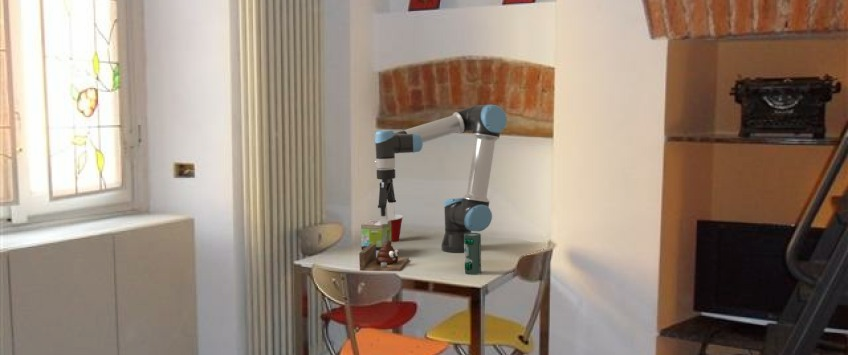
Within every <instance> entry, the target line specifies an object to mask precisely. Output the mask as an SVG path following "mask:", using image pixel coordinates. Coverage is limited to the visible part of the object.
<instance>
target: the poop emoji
mask: <svg viewBox="0 0 848 355" xmlns="http://www.w3.org/2000/svg"><path fill="white" fill-rule="evenodd" d="M391 245H392V242H391V243H390V241H389V240H387V241H386V242H385V243H384V244H383V246H382V247H381V249H380V250H379V253H378V254H377V258H376V262H377V263H378V264H380V265H381V263H382V262H386V263H387V265H389V264H392V263H394V262H397V261H398V258H399V257H398V256H399V254H400V252H399V250H398V249H395V248H394V246H393V245H392V246H391Z"/></svg>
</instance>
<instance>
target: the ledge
mask: <svg viewBox="0 0 848 355" xmlns="http://www.w3.org/2000/svg"><path fill="white" fill-rule="evenodd" d="M358 255H359V271H362V272H364V271H365V272H366V271H370V272H371V271H375V272H376V271H377V272H378V271H379V272H380V271H381V272H382V271H383V272H394V271H395V272H400V271H401V270H402V268H404V266H405V265H406V264H407V263H408V262H409V261H410V258H409V257H398V261H397V262H394V263H392V264H389V265H387V263H386V262H382V263H381V265H380V264H378V263H377V262H376V244H374V243H371V244H370V245H369V246H367V247H366V248H365V249H364V250H362V251H361V250H360V252H359V254H358Z"/></svg>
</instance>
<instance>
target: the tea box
mask: <svg viewBox="0 0 848 355" xmlns="http://www.w3.org/2000/svg"><path fill="white" fill-rule="evenodd" d="M360 227H361V229H360V231H361V232H360V233H361V234H360V235H361V236H360V238H361V240H360V241H361V242H360V243H361V245H360V246H361V247H360V248H361V250H360V252H361V251H362V250H364V249H365V248H366V247H367V246H369V245H370V244H371V243H374V244H376V258H377V254H378V253H379V250H380V249H381V247H382V246H383V244H384V243H385V242H386V241H387V240H389V241H390V243H391V246H392V247H393V245H392V242H391V220H388V224H381V223H380V219H369V220H367V221H366V222H363V223H362V224H360Z"/></svg>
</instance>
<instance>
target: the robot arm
mask: <svg viewBox="0 0 848 355" xmlns="http://www.w3.org/2000/svg"><path fill="white" fill-rule="evenodd" d="M507 122H508V117H507V114H506V112H505V110H504V109H503V107H501V106H499V105H495V104H475V105H471V106H469V107H466V108H463V109H461V110H458V111H455V112H453V113H452V115H450V116H447V117H443V118H440V119H436V120H434V121H433V120H432V121H430V122H426V123H422V124H419V125H418V126H413V127H410V128H407V129H404V130H400V131H398V132H394V130H392V129H391V130H390V129H389V130H386V129H385V130H377V131H375V136H374V140H375V141H374V143H375V161H374V163H375V164H376V179H377V180H381V182H379V192H378V193H379V194H378V204H377V209H379V218H380V219H379V220H380V223H381V224H388V220H387V215H388V219H394V218H395V215H396V214H395V203H397V199H396V197H395V196H396V195H395V191H394V190H395V189H394V179H396V169H395V168H396V155H395V154H410V153H413V154H414V153H419V152H421V151H422V150H423V145H424V144H423V143H427V142H429V141H433V140H436V139H439V138H443V137H446V136H449V135H452V134H456V133H458V134H463V133H468V132H472V136H473V137H474V144H473V145H474V146H473V151H472V157H471V163H470V171H469V178H468V185H467V191H466V194H464V196H463V197H457V198H447V199H445V201H444V206H443V209H444V235H443V238H442V241H441V251H443V252H447V253H464V234H466V233H472V232H482V231H484V230H486V229H487V228H488V227H489V226H490V224H492V220H493V213H492V211H491V208H490V200H489V199H488V197H487V196H488V189H489V184H490V177H491V170H492V164H493V158H494V151H495V144H496V141H498V140H499V139H500V136H501V132H503V130H504V129H505V128H506V126H507V124H508V123H507Z"/></svg>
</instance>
